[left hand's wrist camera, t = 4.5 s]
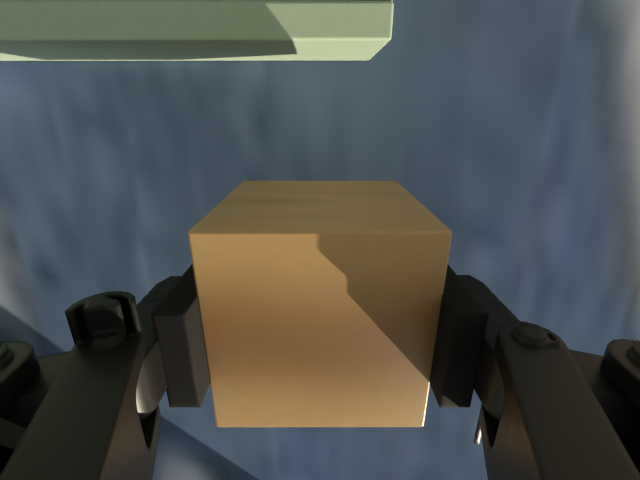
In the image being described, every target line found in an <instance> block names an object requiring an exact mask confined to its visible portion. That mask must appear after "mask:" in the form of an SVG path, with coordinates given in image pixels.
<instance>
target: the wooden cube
mask: <svg viewBox="0 0 640 480" xmlns="http://www.w3.org/2000/svg"><path fill="white" fill-rule="evenodd" d="M188 237H189V244H190V251H191V257H192V264H193V271H194V278H195V284H196V291H197V296H198V303H199V310H200V317H201V323H202V330H203V337H204V344H205V351H206V357H207V364H208V371H209V378H210V386H211V393H212V399H213V406H214V413H215V420H216V426H217V427H422V426H424V420H425V413H426V406H427V400H428V393H429V386H430V376H431V369H432V362H433V355H434V348H435V342H436V335H437V328H438V321H439V314H440V308H441V301H442V295H443V291H444V285H445V278H446V271H447V264H448V258H449V251H450V244H451V237H452V231H451V230H450V229H449V228H448V227H447V226H445V225H444V224H443V223H442V222H441V221H440V220H439V219H438V218H437V217H436V216H434V215H433V214H432V213H431V212H430V211H429V210H428V209H427V208H426V207H425V206H423V205H422V204H421V203H420V202H419V201H418V200H417V199H416V198H415V197H414V196H412V195H411V194H410V193H409V192H408V191H407V190H406V189H405V188H404V187H403V186H401V185H400V184H399V183H398V182H397V181H243V182H242V183H241V184H239V185H238V186H237V187H236V188H235V189H234V190H233V191H232V192H231V193H230V194H229V195H227V196H226V197H225V198H224V199H223V200H222V201H221V202H220V203H219V204H218V205H217V206H215V207H214V208H213V209H212V210H211V211H210V212H209V213H208V214H207V215H206V216H204V217H203V218H202V219H201V220H200V221H199V222H198V223H197V224H196V225H195V226H194V227H192V228H191V229H190V230H189V231H188Z"/></svg>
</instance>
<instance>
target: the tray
mask: <svg viewBox="0 0 640 480" xmlns="http://www.w3.org/2000/svg"><path fill="white" fill-rule="evenodd" d="M392 1H393V0H0V61H139V60H370V59H371V58H372V57H373V56H374V55H375V54H376V53H377V52H378V51H379V50H380V49H381V48H382V47H383V46H384V45H385V44H386V43H388V42H389V41H390V40H391V37H392V23H393V8H394V4H393V2H392Z"/></svg>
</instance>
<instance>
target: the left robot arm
mask: <svg viewBox="0 0 640 480" xmlns="http://www.w3.org/2000/svg"><path fill="white" fill-rule="evenodd" d="M65 314H66V317H67V320H68V324H69V327H70V330H71V333H72V337H73V340H74V343H75V345H74V347H73V348H72V350H71V351H69V352H64V353H59V354H54V355H49V356H44V357H38V358H37V357H36V354H35V352H34V349H33V346H32V345H31V344H29V343H28V342H24V341H11V342H2V343H0V480H152V477H153V470H154V463H155V457H156V450H157V443H158V436H159V430H160V423H161V416H160V410H159V405H158V403H159V402H160V400H161V398H162V396H163V394H164V393H165V391H167V396H168V401H169V405H170V407H200V406H201V404H202V401H203V399H204V396H205V394H206V391H207V389H208V386H209V384H210V378H209V371H208V364H207V357H206V351H205V344H204V337H203V330H202V323H201V317H200V310H199V303H198V296H197V291H196V284H195V278H194V271H193V264H192V265H191V266H190V267H189V268H188V270H187V271H186V272H185V273H184V274H183V276H170V277H168V278H167V279H165V280H163V281H161V282H160V283H158V284H156V285H155V287H154V288H153V289H152V290H151V291H150V292H149V294H148V295H146V296H145V297H144V298H143V299H142V301H141V302H139V303H138V304H137V305H136V301H135V296H133V295H132V294H130V293H128V292H122V291H114V292H105V293H100V294H95V295H93V296H90V297H87V298H84V299H82V300H80V301H78V302H76V303H74V304H73V305H71V306H70V307H69V308H68V309H67V310H66V311H65ZM430 385H431V387H432V390H433V392H434V395H435V397H436V399H437V402H438V404H439V407H470V404H471V399H472V394H473V389H474V390H475V391H476V393H477V395H478V397H479V399H480V400H481V402H482V405H481V410H480V414H479V419H478V423H477V428H476V432H475V438H474V443H477V444H479V441H480V437H481V436H482V442H483V449H484V456H485V462H486V469H487V476H488V480H640V341H634V340H627V339H619V340H613V341H611V342H610V343H608V345H607V348H606V351H605V353H604V356H600V355H594V354H589V353H584V352H579V351H573V350H569V349H568V348H567V346H566V344H565V343H564V342H563V341H562V340H561V338H560V337H559V336H557V335H556V334H554V333H553V332H551V331H550V330H548V329H545V328H543V327H541V326H538V325H535V324H531V323H527V322H521V321H519V320H518V319H517V318H516V317H515V316H514V315H513V314H512V312H511V311H510V310H509V309H508V308H507V307H506V306H505V305H504V304H503V303H502V302H501V301H499V300H498V298H497V297H496V296H495V295H494V294H493V293H491V291H490V290H489V288H488V287H487V286H486V285H485V284H484V283H483V282H481V281H479V280H477V279H475V278H474V277H472V276H470V275H456V274H455V272H454V271H453V270H452V269H451V268H450V266H449V265H448V264H447V271H446V278H445V285H444V291H443V295H442V301H441V308H440V314H439V321H438V328H437V335H436V342H435V348H434V355H433V362H432V369H431V376H430Z"/></svg>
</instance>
